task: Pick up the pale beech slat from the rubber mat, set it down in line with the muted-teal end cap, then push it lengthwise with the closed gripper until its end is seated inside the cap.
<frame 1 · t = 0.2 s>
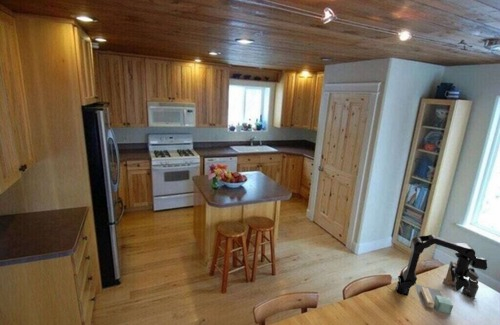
hand: (455, 286, 161), 14 cm above the table, fingers open, 9 cm apart
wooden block: (451, 284, 184), on the table
end cap: (441, 308, 161), resting on mat
supplement bottle: (468, 294, 175), on the table
mat: (431, 298, 169), on the table
slat: (426, 299, 167), point 1 cm above the table, touching mat
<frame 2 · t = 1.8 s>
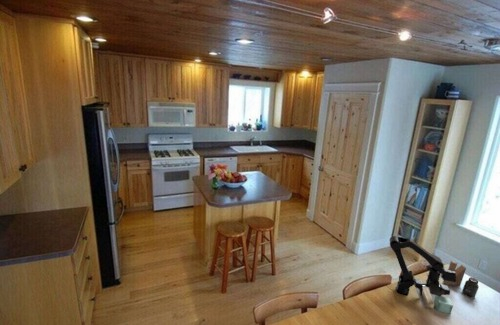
hand: (428, 297, 167), 2 cm above the table, fingers open, 8 cm apart
nothing on the table moved.
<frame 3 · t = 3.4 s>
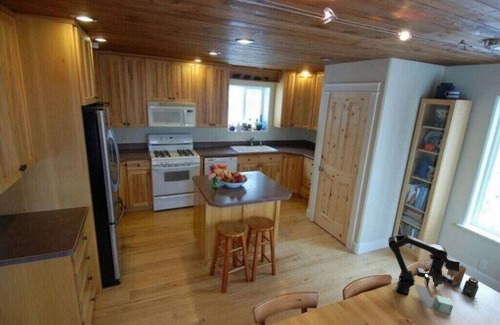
hand: (430, 287, 165), 10 cm above the table, fingers closed on slat, 3 cm apart
slat: (430, 289, 165), point 8 cm above the table, touching gripper
everything else where it was.
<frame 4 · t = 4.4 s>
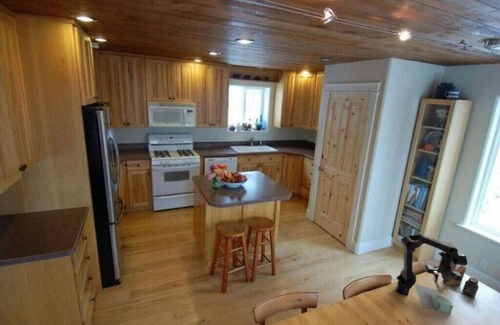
hand: (439, 283, 169), 10 cm above the table, fingers closed on slat, 3 cm apart
slat: (438, 286, 169), point 8 cm above the table, touching gripper
everything else where it was.
when the fingers open (2 cm above the table, at t = 5.4 s): slat stays where it is, resting on mat.
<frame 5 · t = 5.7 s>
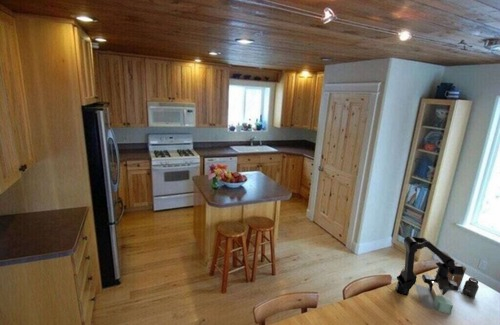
hand: (436, 293, 171), 2 cm above the table, fingers open, 7 cm apart
slat: (435, 295, 171), point 1 cm above the table, touching mat
everything else where it was.
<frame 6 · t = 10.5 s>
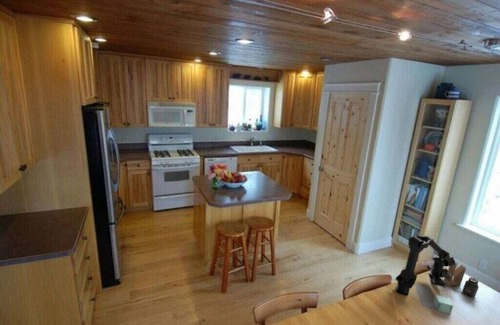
hand: (432, 285, 178), 2 cm above the table, fingers closed
slat: (435, 295, 171), point 1 cm above the table, touching gripper, mat
everything else where it was.
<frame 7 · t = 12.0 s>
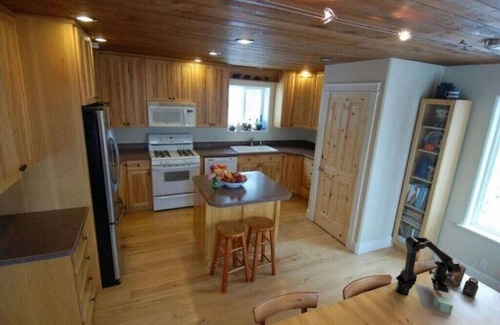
hand: (435, 291, 173), 2 cm above the table, fingers closed
slat: (438, 301, 166), point 1 cm above the table, touching gripper, mat
everything else where it was.
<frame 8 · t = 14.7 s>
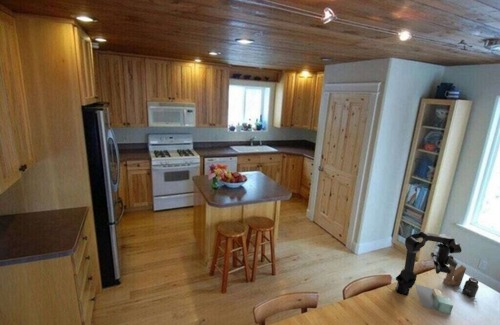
hand: (437, 273, 174), 12 cm above the table, fingers closed
slat: (438, 301, 166), point 1 cm above the table, touching mat
everything else where it was.
at the end: slat 0.4 cm from the target spot, point 0.6 cm above the table; slat tilted 0° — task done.
